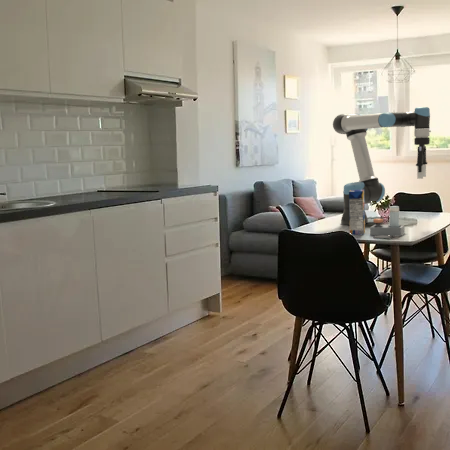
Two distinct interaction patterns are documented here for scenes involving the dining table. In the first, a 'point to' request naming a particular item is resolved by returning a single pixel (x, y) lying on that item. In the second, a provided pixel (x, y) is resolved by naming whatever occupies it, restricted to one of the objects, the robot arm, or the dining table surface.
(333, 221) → the dining table surface
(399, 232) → the housing
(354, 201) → the beverage box
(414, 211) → the dining table surface
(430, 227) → the dining table surface
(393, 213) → the cartridge
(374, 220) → the plunger
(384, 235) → the mat
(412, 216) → the dining table surface
